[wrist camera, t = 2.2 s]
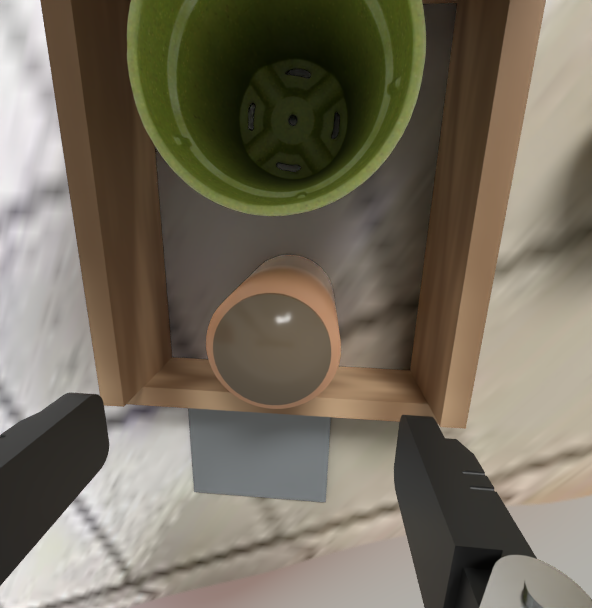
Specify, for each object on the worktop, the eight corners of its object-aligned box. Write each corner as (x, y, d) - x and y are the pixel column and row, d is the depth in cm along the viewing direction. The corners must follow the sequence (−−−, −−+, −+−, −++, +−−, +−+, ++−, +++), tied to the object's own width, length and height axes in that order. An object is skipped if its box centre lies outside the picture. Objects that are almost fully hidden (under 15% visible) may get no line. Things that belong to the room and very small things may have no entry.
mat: (195, 488, 27) (194, 491, 26) (189, 397, 24) (187, 399, 24) (325, 499, 26) (325, 502, 26) (331, 405, 24) (331, 408, 23)
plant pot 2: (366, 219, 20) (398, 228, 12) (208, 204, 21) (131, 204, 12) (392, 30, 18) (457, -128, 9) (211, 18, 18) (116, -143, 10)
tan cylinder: (246, 337, 23) (206, 409, 15) (245, 252, 21) (199, 281, 13) (331, 342, 22) (337, 417, 14) (336, 256, 21) (346, 287, 13)
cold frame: (156, 372, 24) (78, 450, 16) (118, -22, 18) (-37, -194, 10) (426, 387, 23) (479, 479, 15) (486, -27, 17) (628, -226, 9)
